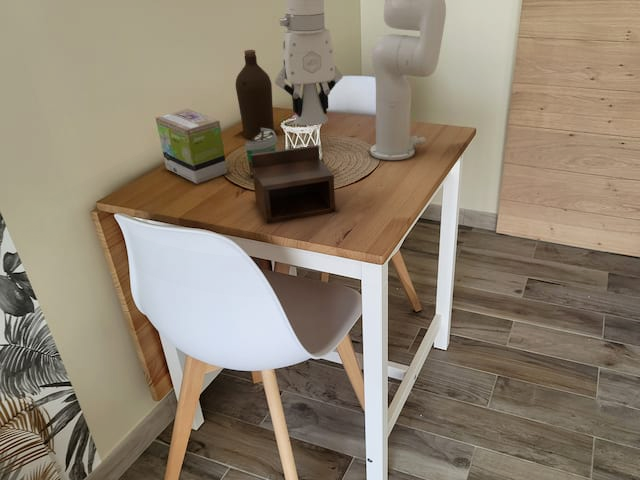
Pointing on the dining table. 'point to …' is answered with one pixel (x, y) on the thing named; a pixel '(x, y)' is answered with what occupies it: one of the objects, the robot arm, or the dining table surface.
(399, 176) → the dining table surface
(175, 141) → the tea box
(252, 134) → the olive oil
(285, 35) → the robot arm
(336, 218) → the dining table surface
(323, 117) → the flask
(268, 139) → the food container
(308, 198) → the spice shelf
